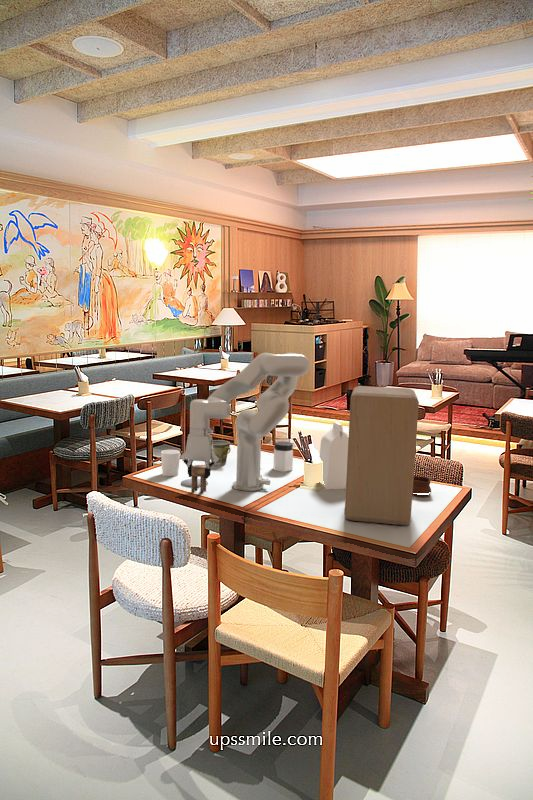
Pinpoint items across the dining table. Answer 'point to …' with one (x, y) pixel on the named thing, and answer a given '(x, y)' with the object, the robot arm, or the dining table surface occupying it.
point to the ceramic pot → (421, 486)
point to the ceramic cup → (221, 451)
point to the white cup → (170, 462)
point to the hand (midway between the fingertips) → (199, 476)
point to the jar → (283, 456)
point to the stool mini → (197, 472)
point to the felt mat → (189, 483)
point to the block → (381, 454)
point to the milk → (334, 457)
